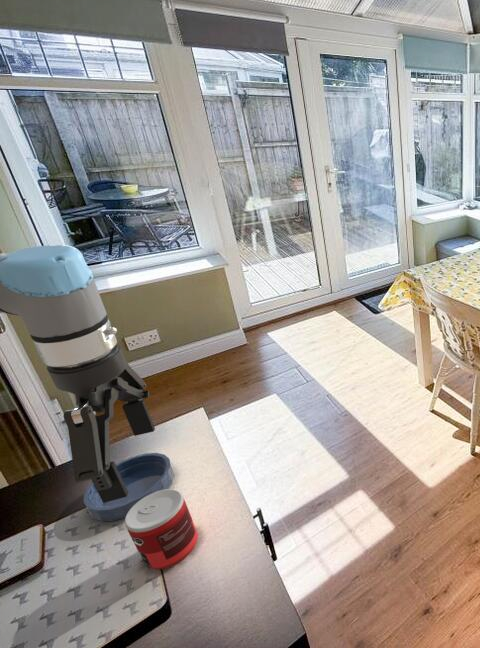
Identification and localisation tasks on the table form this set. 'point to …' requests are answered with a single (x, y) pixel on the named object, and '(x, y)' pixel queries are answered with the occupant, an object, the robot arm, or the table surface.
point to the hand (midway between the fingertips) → (131, 462)
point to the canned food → (162, 528)
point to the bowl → (132, 485)
